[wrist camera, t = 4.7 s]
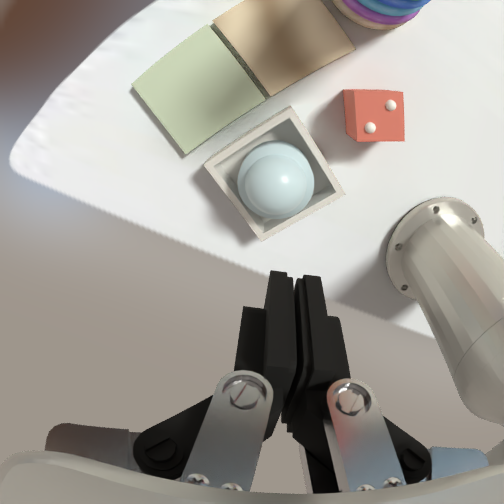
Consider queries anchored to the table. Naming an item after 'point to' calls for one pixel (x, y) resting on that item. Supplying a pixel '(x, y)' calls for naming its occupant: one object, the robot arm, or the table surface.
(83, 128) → the table surface
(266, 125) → the popper housing
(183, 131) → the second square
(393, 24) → the stacking toy
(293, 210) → the dome
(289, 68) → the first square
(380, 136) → the die
